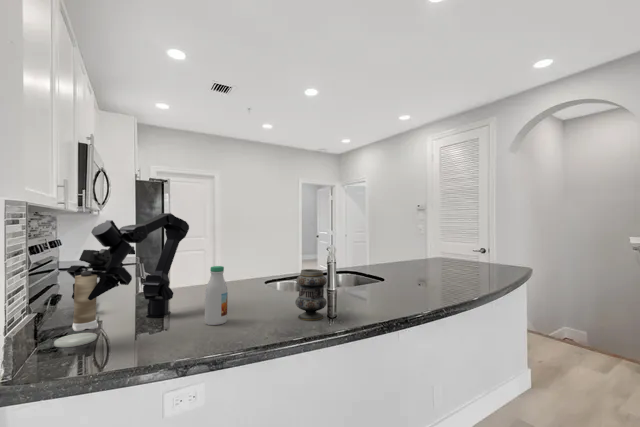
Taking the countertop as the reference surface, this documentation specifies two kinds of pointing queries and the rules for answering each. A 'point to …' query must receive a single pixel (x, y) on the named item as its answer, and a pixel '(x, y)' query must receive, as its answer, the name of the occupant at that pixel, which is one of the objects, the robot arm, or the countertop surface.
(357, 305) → the countertop surface
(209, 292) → the milk bottle
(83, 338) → the saucer
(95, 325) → the soap
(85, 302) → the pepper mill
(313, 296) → the apothecary jar
